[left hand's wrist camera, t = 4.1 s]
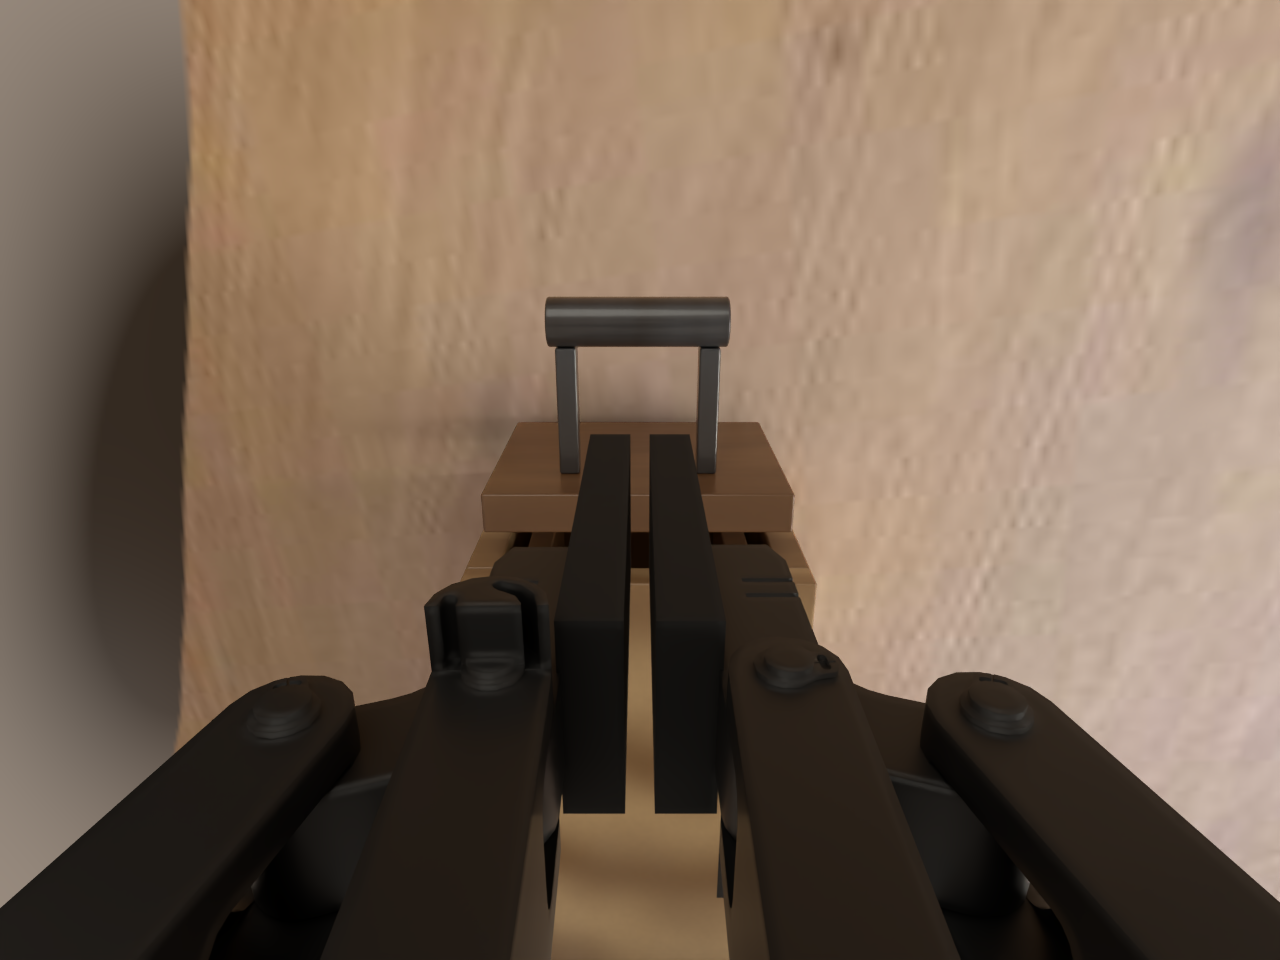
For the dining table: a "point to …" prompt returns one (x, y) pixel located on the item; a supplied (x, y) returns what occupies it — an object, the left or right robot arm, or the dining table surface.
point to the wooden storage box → (641, 819)
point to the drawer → (637, 431)
